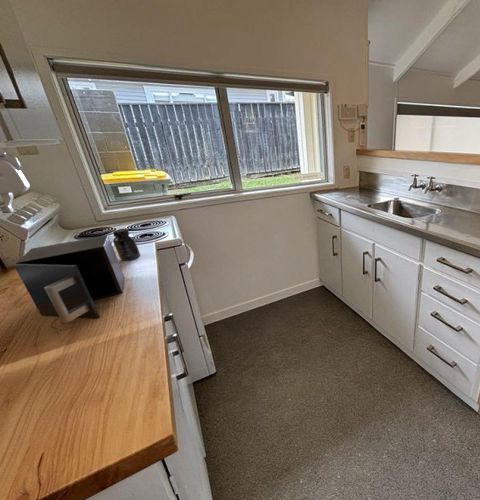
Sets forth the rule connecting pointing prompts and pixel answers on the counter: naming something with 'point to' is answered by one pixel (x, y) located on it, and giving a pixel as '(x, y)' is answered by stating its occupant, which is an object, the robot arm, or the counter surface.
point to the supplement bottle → (125, 245)
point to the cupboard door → (58, 291)
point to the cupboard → (85, 263)
